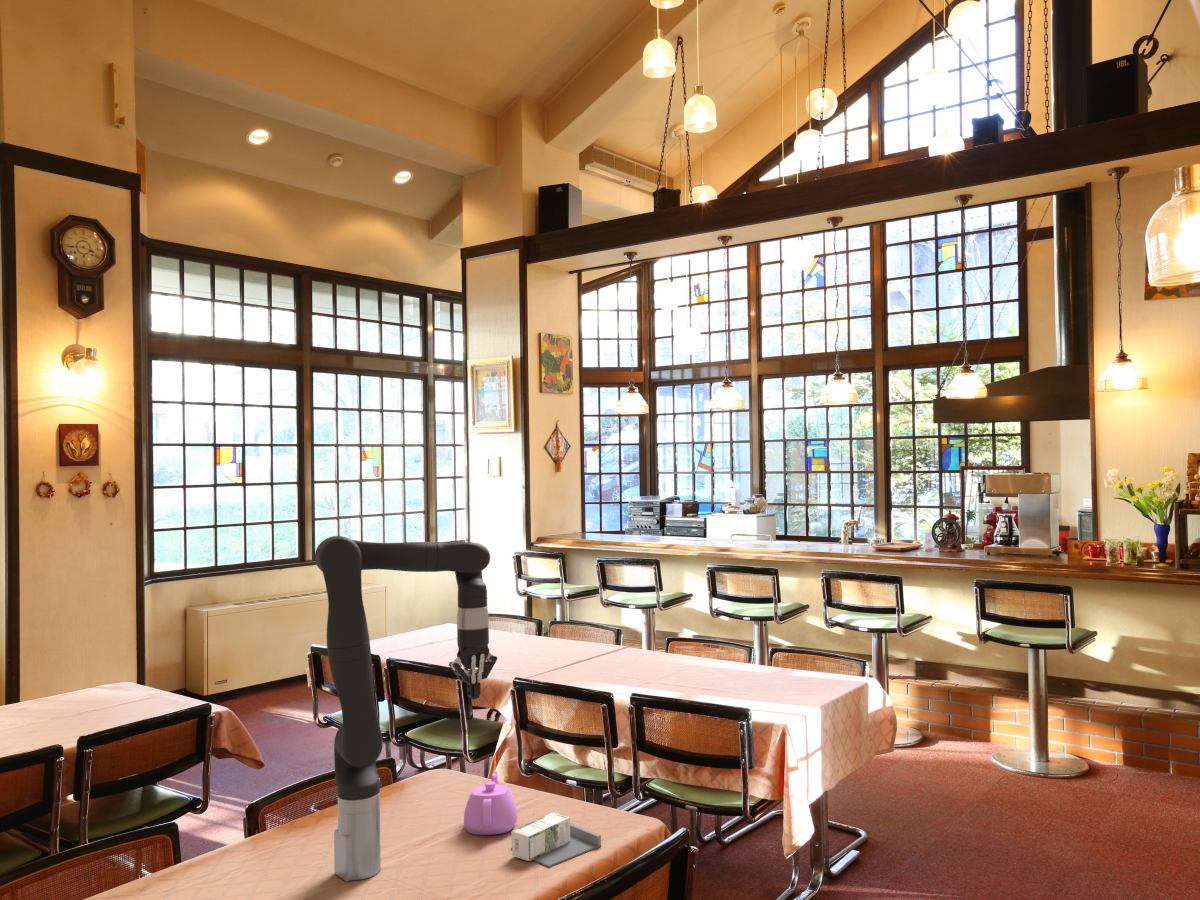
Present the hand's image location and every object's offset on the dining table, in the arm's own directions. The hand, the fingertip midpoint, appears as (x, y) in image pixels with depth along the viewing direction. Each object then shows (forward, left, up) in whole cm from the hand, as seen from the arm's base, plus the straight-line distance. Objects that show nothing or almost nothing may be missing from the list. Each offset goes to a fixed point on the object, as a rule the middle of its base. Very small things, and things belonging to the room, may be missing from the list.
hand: (474, 698), depth 206 cm
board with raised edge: (+13, -14, -35) cm, 40 cm away
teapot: (+10, +8, -35) cm, 38 cm away
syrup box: (+2, -14, -32) cm, 35 cm away
